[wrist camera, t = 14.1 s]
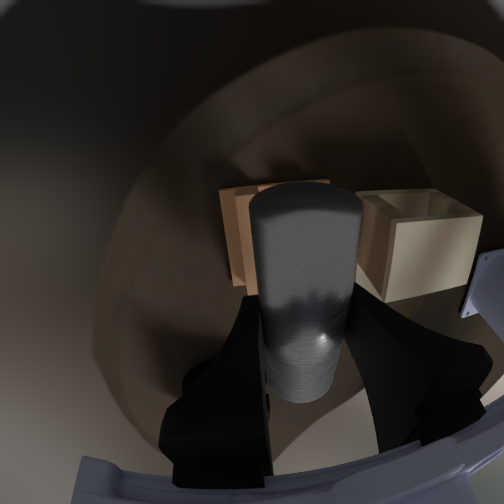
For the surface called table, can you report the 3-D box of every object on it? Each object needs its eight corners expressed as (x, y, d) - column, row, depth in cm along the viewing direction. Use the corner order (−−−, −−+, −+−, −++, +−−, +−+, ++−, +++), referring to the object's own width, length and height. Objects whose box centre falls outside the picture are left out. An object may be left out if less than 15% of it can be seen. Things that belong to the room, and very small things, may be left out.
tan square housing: (434, 188, 18) (483, 215, 13) (417, 286, 22) (451, 327, 17) (355, 191, 18) (396, 223, 13) (348, 299, 22) (374, 348, 17)
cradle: (327, 178, 18) (338, 186, 16) (327, 271, 21) (335, 286, 19) (219, 189, 18) (217, 198, 16) (233, 282, 21) (233, 299, 19)
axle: (240, 189, 10) (262, 242, 7) (333, 176, 10) (386, 220, 7) (261, 356, 16) (276, 410, 13) (320, 342, 16) (342, 391, 13)
